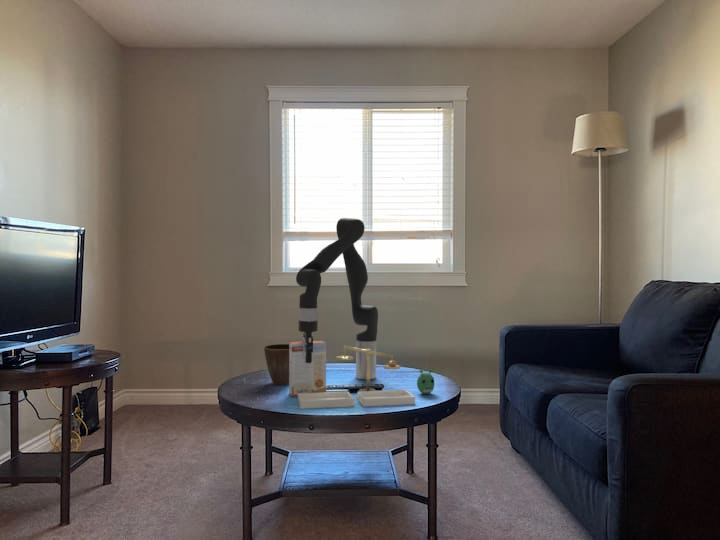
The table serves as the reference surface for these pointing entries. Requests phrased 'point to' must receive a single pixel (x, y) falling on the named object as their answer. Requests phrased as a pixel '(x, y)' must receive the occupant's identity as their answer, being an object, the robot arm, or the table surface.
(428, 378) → the alien toy
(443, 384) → the table surface
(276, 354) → the plant pot
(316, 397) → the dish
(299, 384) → the cracker box
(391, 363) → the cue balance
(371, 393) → the dish
